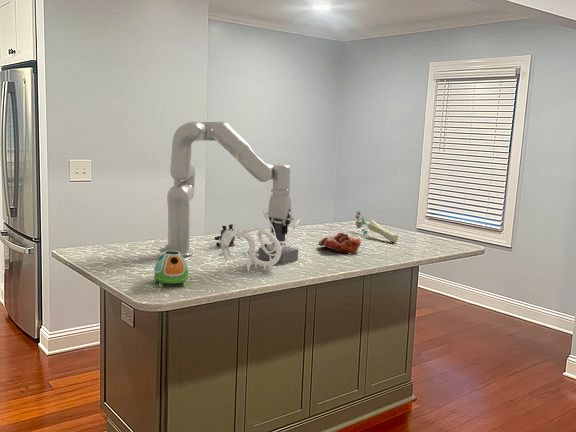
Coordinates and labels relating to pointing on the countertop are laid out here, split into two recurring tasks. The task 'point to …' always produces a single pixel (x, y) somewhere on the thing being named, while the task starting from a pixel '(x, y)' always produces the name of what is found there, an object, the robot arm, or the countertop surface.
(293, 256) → the low charcoal box
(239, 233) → the serpentine dragon sculpture
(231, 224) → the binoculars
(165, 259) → the turtle holder
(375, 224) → the flower vase
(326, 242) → the meat
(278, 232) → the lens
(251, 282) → the countertop surface
